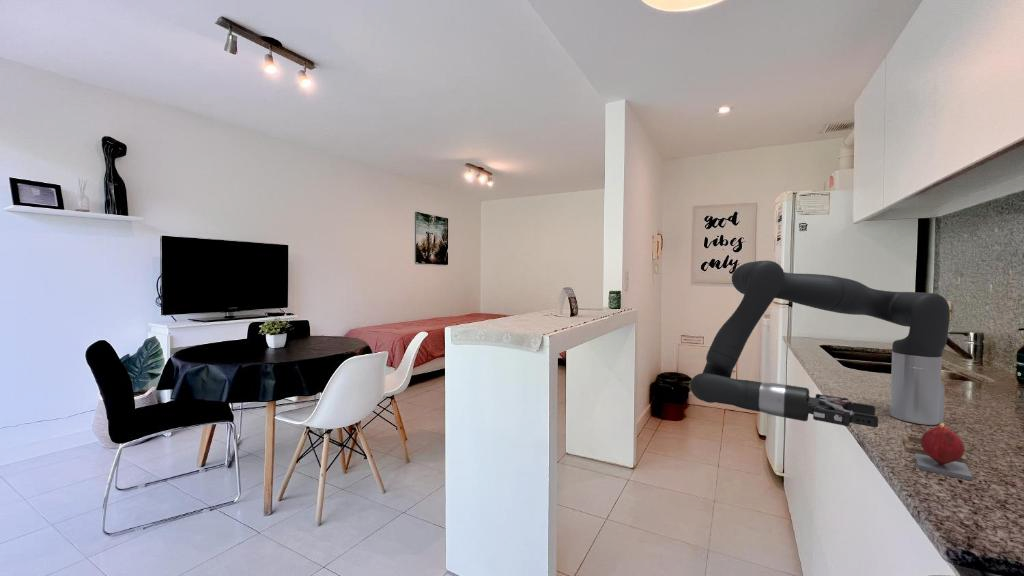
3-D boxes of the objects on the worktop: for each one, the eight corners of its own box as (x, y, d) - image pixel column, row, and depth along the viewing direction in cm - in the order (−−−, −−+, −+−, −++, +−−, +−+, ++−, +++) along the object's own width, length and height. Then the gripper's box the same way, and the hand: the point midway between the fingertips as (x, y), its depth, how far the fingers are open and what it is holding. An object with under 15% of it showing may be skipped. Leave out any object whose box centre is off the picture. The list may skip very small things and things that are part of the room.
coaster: (914, 456, 84) (915, 453, 84) (965, 467, 79) (965, 463, 79) (918, 469, 79) (918, 464, 79) (972, 481, 74) (972, 476, 74)
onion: (968, 474, 75) (970, 431, 75) (925, 466, 78) (927, 425, 78) (956, 462, 80) (958, 422, 80) (916, 454, 83) (918, 416, 83)
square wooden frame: (902, 439, 93) (902, 434, 93) (959, 449, 88) (959, 445, 87) (906, 451, 87) (906, 446, 87) (967, 464, 81) (967, 459, 81)
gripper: (781, 391, 89) (880, 407, 79) (786, 378, 100) (874, 391, 90) (779, 425, 89) (878, 445, 79) (785, 408, 101) (873, 424, 91)
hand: (876, 416), depth 85 cm, fingers open, 8 cm apart
